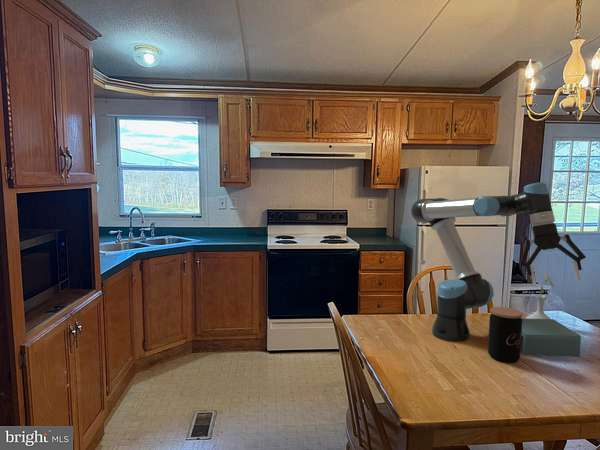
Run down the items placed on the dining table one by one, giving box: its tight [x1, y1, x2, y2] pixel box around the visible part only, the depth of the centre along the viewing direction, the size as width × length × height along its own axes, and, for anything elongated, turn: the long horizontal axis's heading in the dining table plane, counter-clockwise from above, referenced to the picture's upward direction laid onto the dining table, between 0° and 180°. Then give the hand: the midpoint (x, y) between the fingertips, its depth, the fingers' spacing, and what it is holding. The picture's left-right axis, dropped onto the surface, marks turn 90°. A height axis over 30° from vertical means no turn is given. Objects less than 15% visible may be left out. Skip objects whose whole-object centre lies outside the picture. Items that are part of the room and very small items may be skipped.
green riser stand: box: [521, 317, 582, 357], centre depth 153 cm, size 20×18×8 cm
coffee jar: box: [487, 306, 524, 364], centre depth 142 cm, size 11×11×18 cm
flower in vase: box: [525, 271, 555, 319], centre depth 175 cm, size 13×11×25 cm
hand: (556, 282), depth 137 cm, fingers open, 13 cm apart
